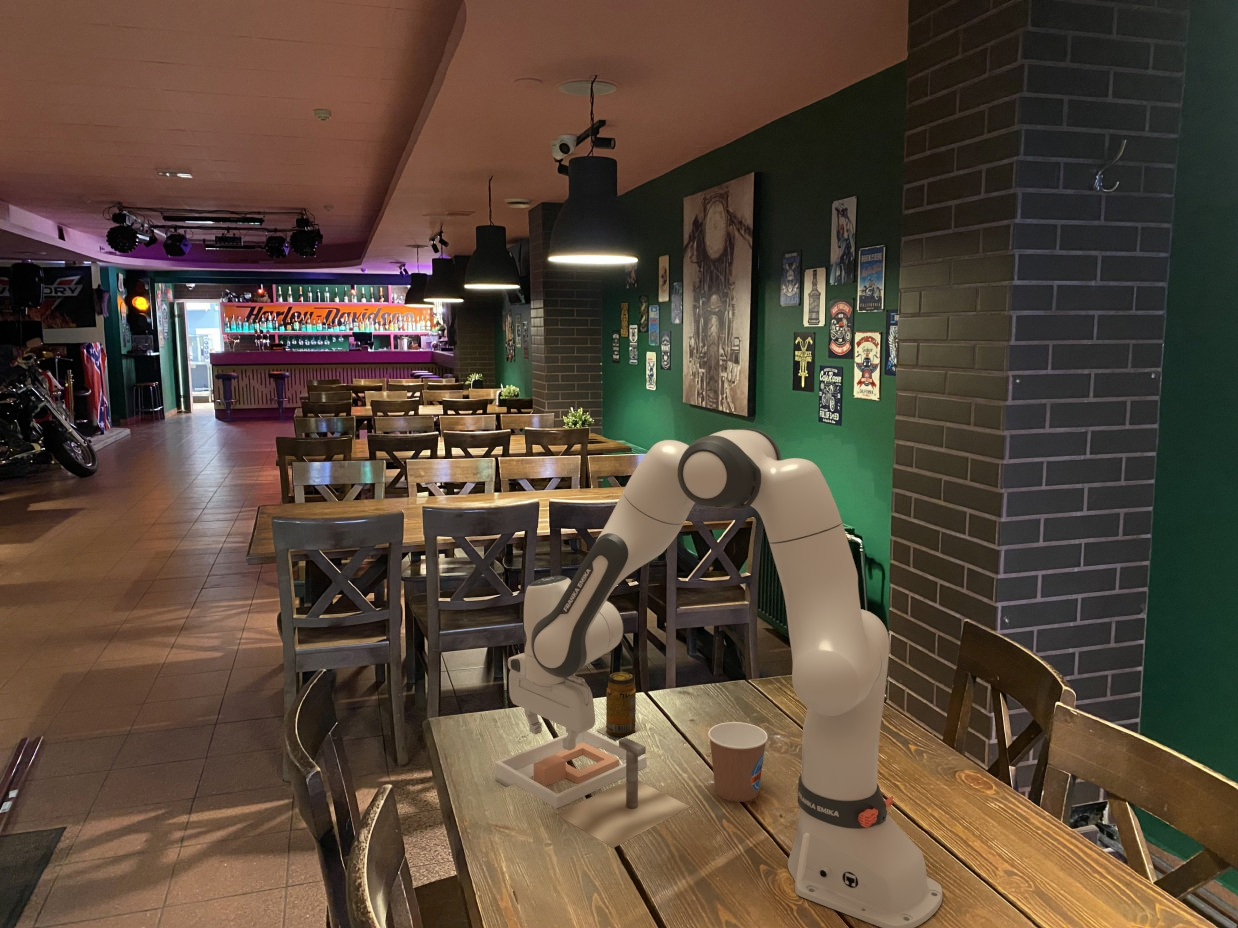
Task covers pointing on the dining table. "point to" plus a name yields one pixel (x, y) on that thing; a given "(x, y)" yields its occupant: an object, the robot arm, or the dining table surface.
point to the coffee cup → (737, 759)
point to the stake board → (623, 805)
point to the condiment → (620, 706)
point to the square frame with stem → (557, 768)
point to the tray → (522, 763)
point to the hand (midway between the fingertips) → (552, 740)
